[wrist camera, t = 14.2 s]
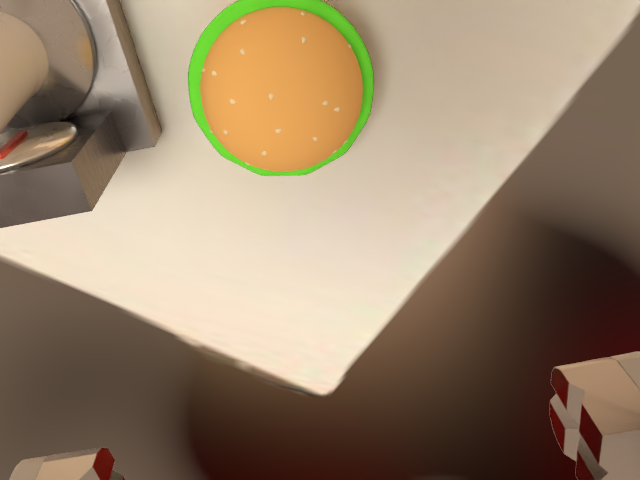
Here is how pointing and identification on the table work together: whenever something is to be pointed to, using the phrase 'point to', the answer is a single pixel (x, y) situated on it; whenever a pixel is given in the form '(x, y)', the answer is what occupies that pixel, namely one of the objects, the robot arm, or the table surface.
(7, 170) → the dial scale
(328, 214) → the table surface
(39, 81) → the drinking glass
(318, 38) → the hamburger
